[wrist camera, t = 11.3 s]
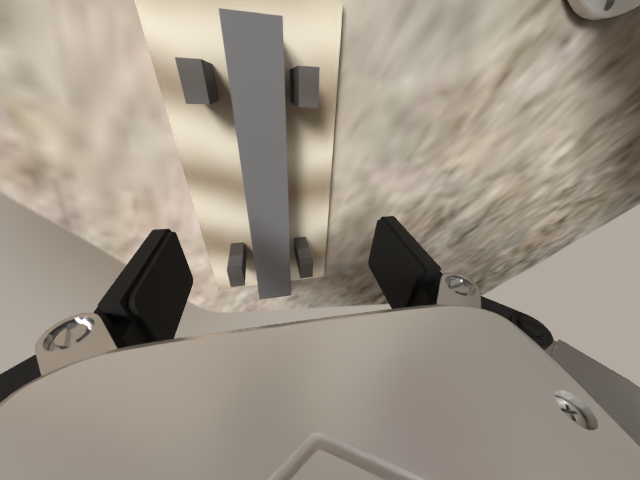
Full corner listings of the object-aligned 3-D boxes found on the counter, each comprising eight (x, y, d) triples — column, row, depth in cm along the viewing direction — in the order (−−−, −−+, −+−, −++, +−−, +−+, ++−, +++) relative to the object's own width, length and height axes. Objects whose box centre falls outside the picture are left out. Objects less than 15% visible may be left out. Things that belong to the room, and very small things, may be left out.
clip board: (133, -29, 13) (74, -82, 9) (338, -1, 15) (368, -33, 11) (219, 282, 26) (212, 320, 22) (321, 270, 29) (332, 301, 25)
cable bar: (227, 25, 14) (218, 7, 11) (276, 30, 15) (282, 15, 11) (259, 271, 25) (259, 299, 22) (286, 268, 26) (291, 295, 23)
